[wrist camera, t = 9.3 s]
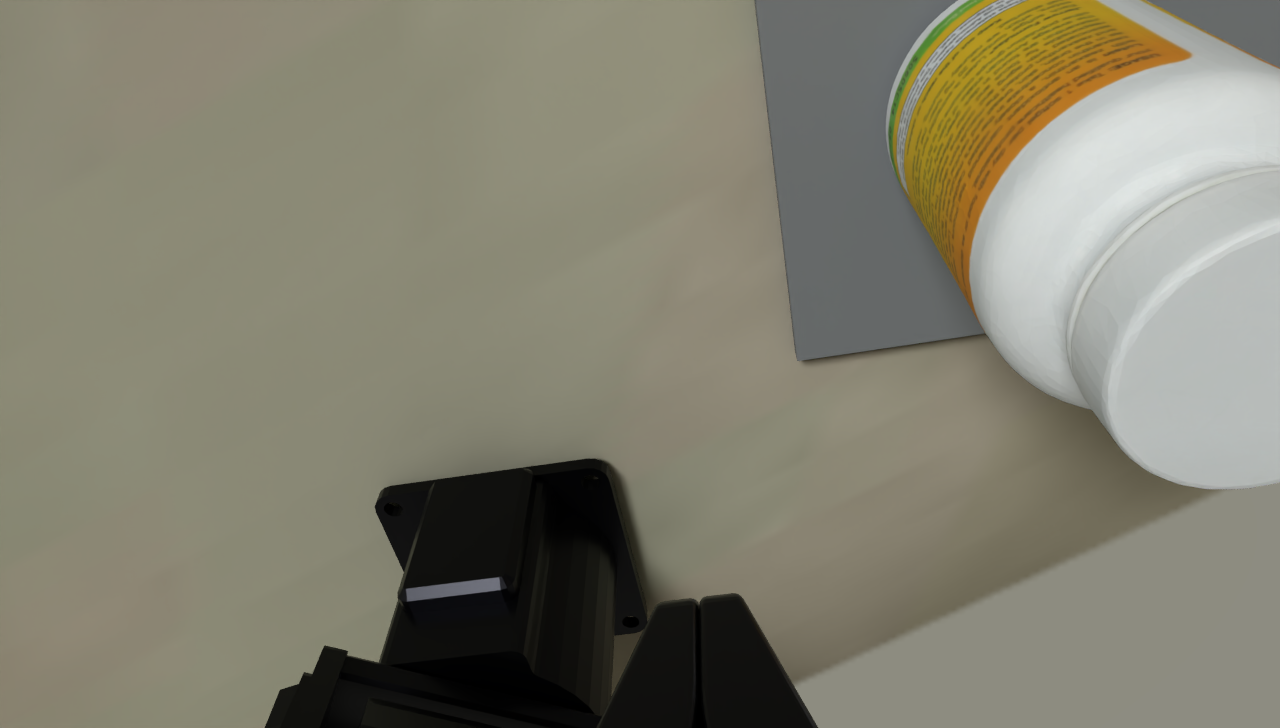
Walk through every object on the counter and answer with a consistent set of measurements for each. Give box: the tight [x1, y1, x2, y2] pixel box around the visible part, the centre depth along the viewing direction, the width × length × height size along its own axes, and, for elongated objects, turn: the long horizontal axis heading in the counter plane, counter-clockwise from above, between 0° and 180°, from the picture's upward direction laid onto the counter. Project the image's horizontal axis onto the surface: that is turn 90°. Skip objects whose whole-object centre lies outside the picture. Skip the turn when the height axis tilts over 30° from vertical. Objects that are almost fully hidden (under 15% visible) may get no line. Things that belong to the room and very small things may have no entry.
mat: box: [755, 0, 1280, 361], centre depth 19 cm, size 11×13×1 cm
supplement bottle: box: [886, 0, 1280, 489], centre depth 15 cm, size 5×5×10 cm
